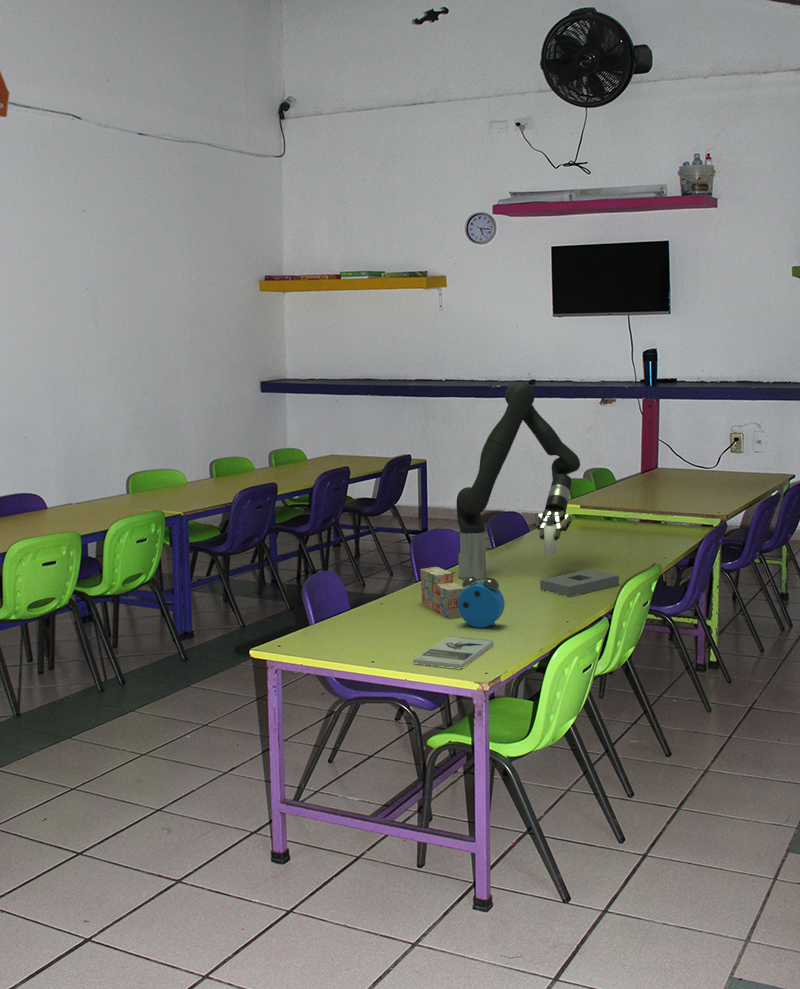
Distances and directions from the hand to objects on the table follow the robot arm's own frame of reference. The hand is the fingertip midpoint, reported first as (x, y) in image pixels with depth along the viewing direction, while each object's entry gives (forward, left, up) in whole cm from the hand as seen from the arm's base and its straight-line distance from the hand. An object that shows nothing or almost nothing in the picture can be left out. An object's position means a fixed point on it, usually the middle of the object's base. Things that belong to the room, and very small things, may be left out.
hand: (548, 538), depth 349 cm
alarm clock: (-54, -27, -16) cm, 63 cm away
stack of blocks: (-51, -4, -16) cm, 54 cm away
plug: (+2, +1, -6) cm, 6 cm away
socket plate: (+2, -13, -16) cm, 21 cm away
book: (-78, -44, -17) cm, 91 cm away
